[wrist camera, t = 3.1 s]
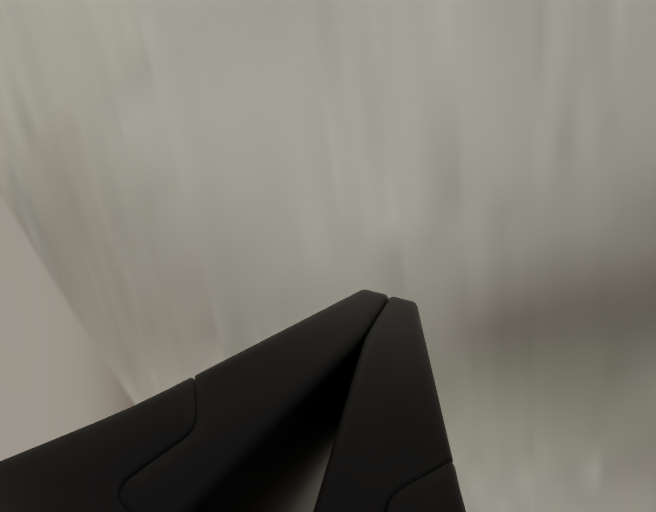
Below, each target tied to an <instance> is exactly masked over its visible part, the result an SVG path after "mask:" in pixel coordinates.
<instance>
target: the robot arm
mask: <svg viewBox="0 0 656 512" xmlns="http://www.w3.org/2000/svg"><path fill="white" fill-rule="evenodd" d="M452 463H453V459H452V455H451V450H450V446H449V442H448V438H447V433H446V429H445V425H444V420H443V416H442V412H441V407H440V403H439V399H438V394H437V390H436V386H435V381H434V377H433V373H432V369H431V364H430V360H429V356H428V351H427V347H426V343H425V338H424V334H423V330H422V325H421V321H420V317H419V312H418V308H417V305H416V303H414V302H412V301H408V300H404V299H400V298H396V297H391V298H389V299H388V297H387V296H386V295H384V294H380V293H377V292H373V291H369V290H361V291H359V292H357V293H355V294H353V295H351V296H349V297H347V298H345V299H343V300H341V301H339V302H337V303H336V304H334V305H332V306H330V307H328V308H326V309H324V310H322V311H320V312H318V313H316V314H314V315H312V316H310V317H308V318H306V319H304V320H302V321H301V322H299V323H297V324H295V325H293V326H291V327H289V328H287V329H285V330H283V331H281V332H279V333H277V334H275V335H273V336H271V337H269V338H267V339H265V340H264V341H262V342H260V343H258V344H256V345H254V346H252V347H250V348H248V349H246V350H244V351H242V352H240V353H238V354H236V355H234V356H232V357H230V358H228V359H227V360H225V361H223V362H221V363H219V364H217V365H215V366H213V367H211V368H209V369H207V370H205V371H203V372H201V373H199V374H197V375H196V376H195V380H194V379H193V378H189V379H187V380H185V381H183V382H181V383H179V384H177V385H176V386H174V387H172V388H170V389H168V390H166V391H164V392H161V393H159V394H157V395H155V396H153V397H151V398H149V399H147V400H145V401H143V402H141V403H139V404H137V405H135V406H133V407H130V408H128V409H126V410H123V411H121V412H119V413H116V414H114V415H112V416H109V417H107V418H105V419H102V420H100V421H98V422H95V423H93V424H91V425H88V426H86V427H84V428H81V429H79V430H76V431H74V432H71V433H69V434H66V435H64V436H61V437H59V438H56V439H54V440H52V441H49V442H47V443H44V444H42V445H39V446H37V447H35V448H32V449H29V450H27V451H25V452H22V453H20V454H17V455H15V456H12V457H10V458H7V459H5V460H3V461H0V512H466V510H465V506H464V503H463V499H462V496H461V492H460V488H459V483H458V479H457V475H456V471H455V467H454V465H453V464H452ZM313 510H314V511H313Z"/></svg>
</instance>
